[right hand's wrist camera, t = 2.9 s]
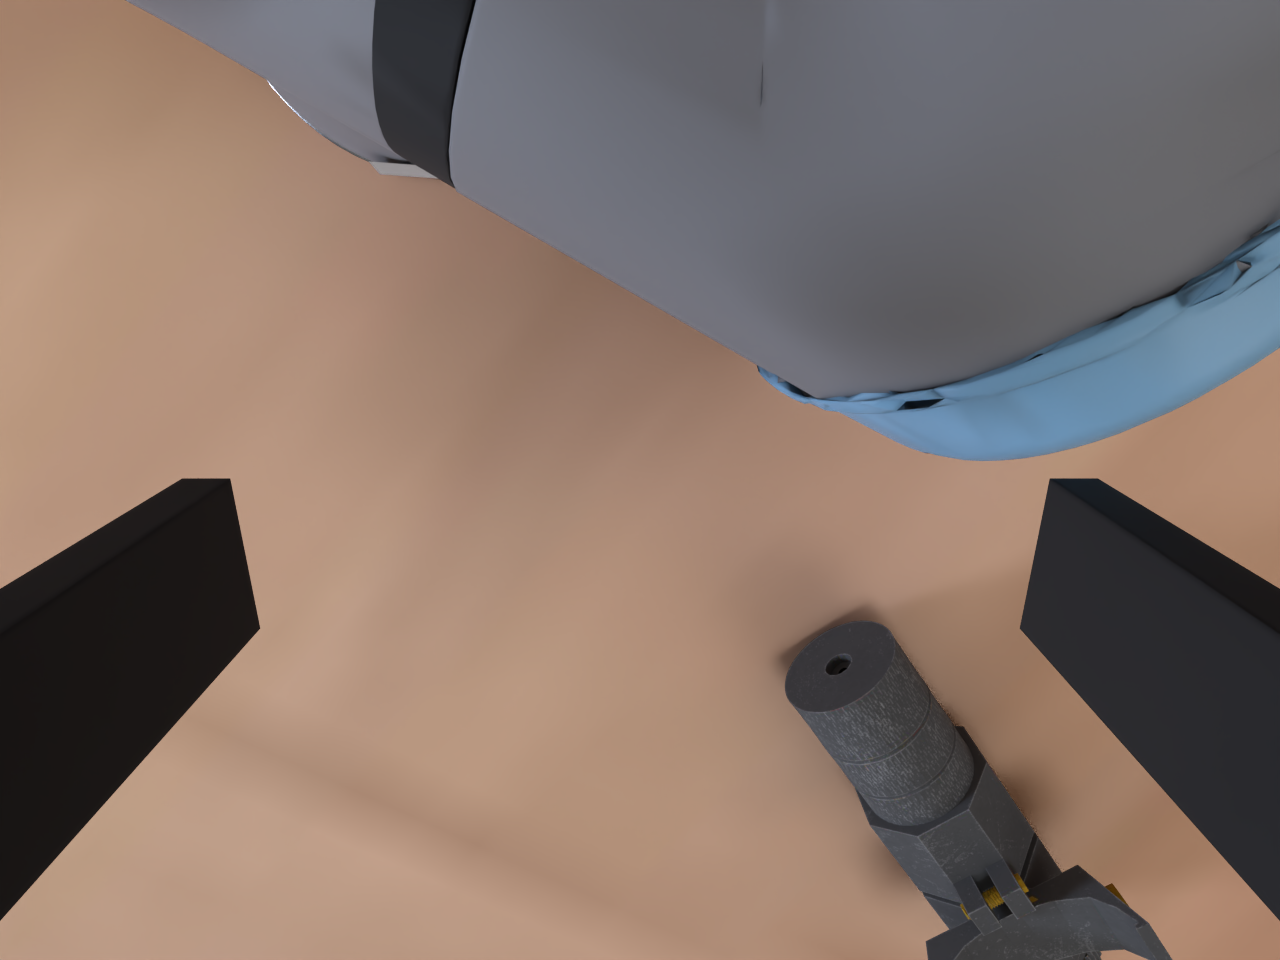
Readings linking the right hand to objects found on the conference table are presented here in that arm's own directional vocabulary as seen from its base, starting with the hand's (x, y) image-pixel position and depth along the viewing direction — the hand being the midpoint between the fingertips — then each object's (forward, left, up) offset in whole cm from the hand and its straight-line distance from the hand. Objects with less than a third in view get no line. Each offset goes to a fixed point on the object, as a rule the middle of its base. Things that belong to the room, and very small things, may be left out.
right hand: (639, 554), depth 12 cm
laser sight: (+27, -9, -22) cm, 35 cm away
